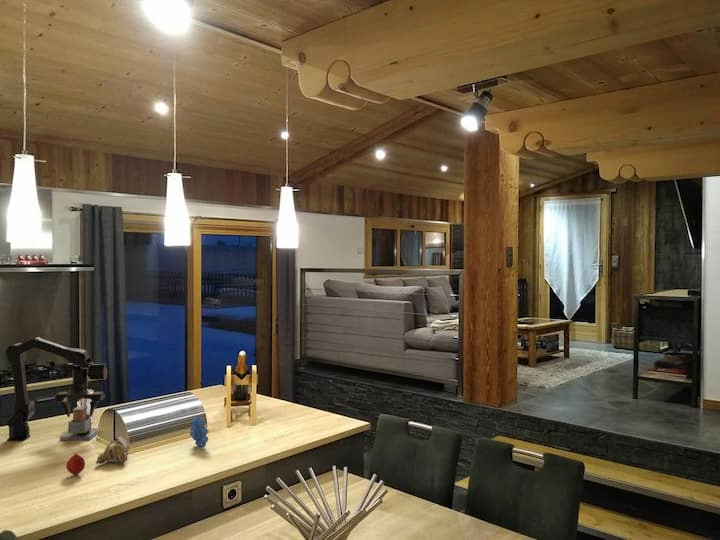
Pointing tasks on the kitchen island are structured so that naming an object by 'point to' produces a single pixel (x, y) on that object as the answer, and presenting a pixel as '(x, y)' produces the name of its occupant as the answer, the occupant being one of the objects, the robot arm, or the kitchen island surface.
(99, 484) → the kitchen island surface
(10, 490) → the kitchen island surface
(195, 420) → the grapes
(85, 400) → the beer glass
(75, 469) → the onion
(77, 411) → the brown rectangular block
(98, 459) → the ceramic sculpture
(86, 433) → the bracket
